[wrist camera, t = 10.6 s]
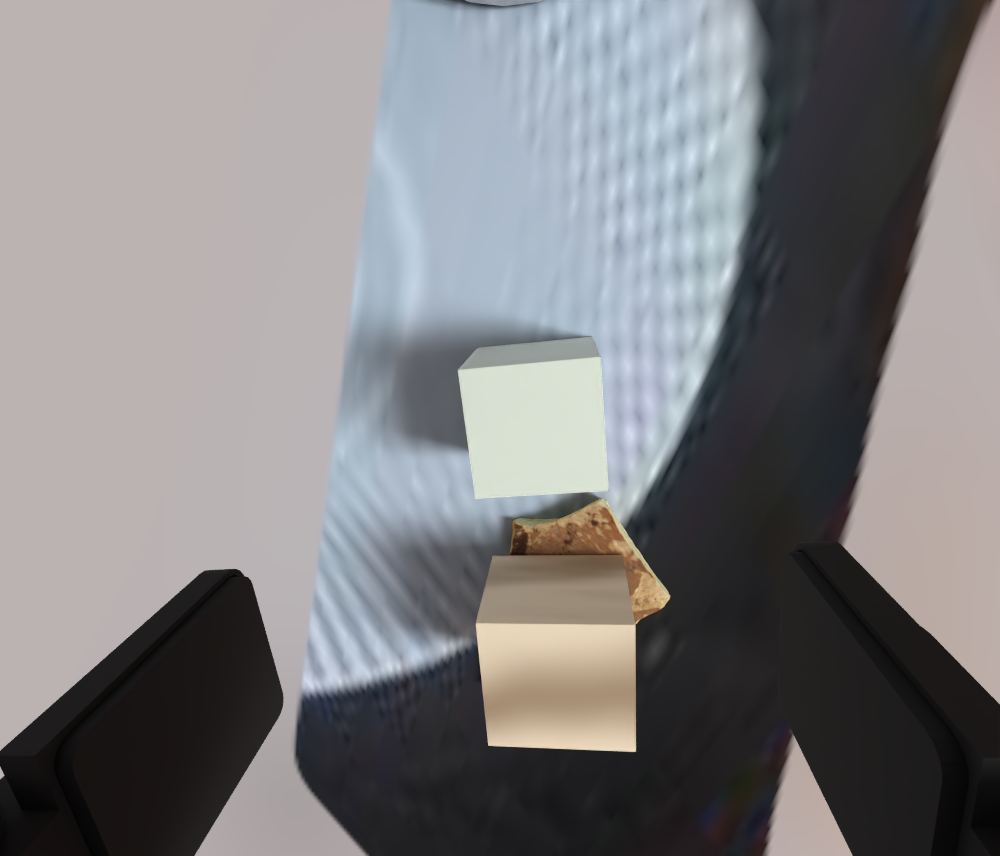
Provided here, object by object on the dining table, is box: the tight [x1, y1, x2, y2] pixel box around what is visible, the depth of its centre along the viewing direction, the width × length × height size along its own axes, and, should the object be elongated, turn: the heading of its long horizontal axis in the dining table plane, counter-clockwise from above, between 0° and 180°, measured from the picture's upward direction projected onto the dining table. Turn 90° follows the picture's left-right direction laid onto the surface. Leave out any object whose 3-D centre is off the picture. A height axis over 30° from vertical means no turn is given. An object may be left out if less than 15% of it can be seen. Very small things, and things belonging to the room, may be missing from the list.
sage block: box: [458, 337, 609, 499], centre depth 22 cm, size 5×5×5 cm
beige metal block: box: [476, 555, 636, 752], centre depth 24 cm, size 6×6×5 cm
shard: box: [509, 498, 670, 624], centre depth 27 cm, size 11×8×2 cm
